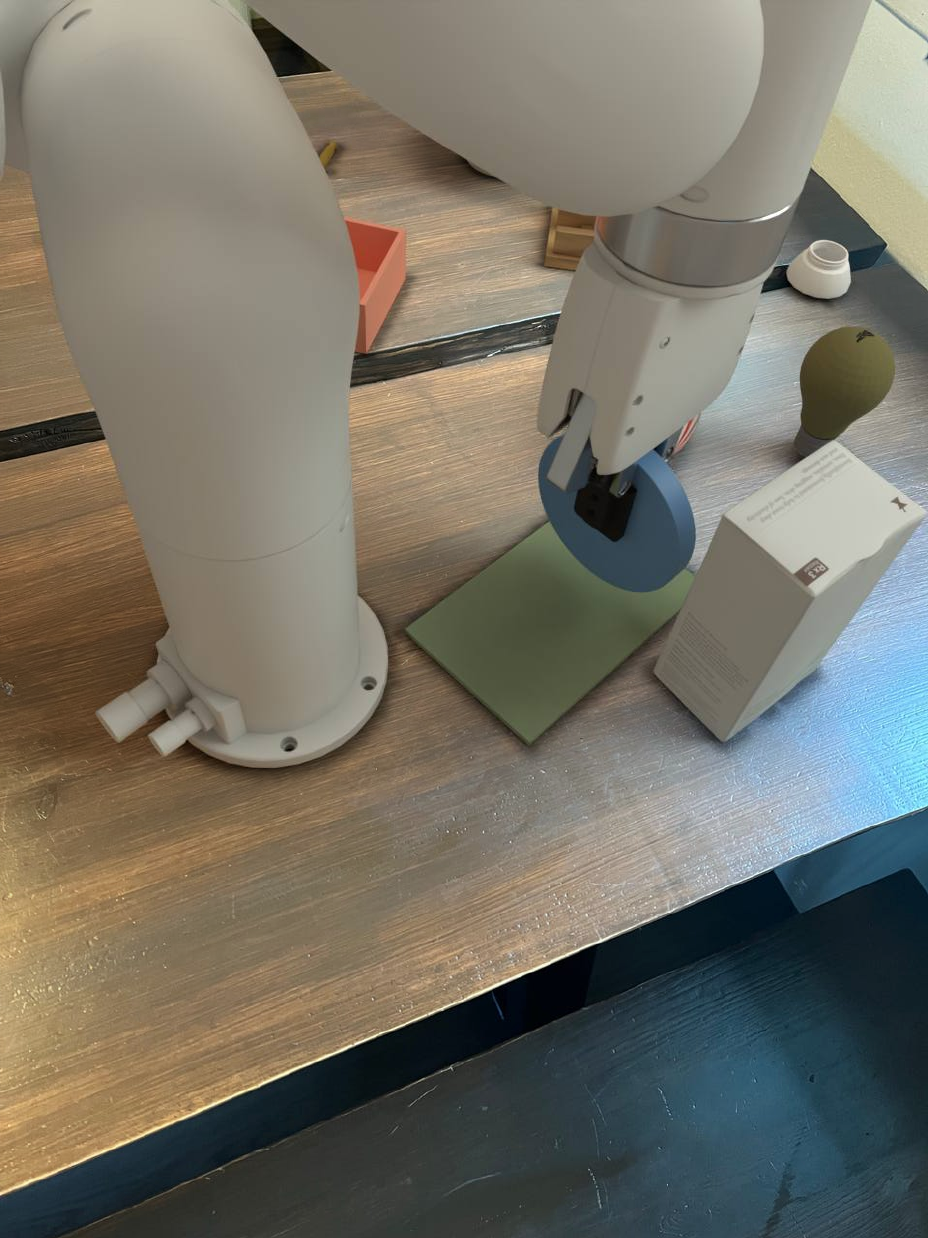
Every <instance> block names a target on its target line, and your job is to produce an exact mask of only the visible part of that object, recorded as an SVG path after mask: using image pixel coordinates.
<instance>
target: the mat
mask: <svg viewBox="0 0 928 1238" xmlns="http://www.w3.org/2000/svg"><path fill="white" fill-rule="evenodd" d="M695 576H696V575H694V574H693V573H692V572H691V571H689V570H687V568H686V567H685V568H684V570H683V571H681V572H680V573H679V574H678V575H677V576H676V577H674V578H673V579H672V580H671V581H670V582H669V583H667V584H666V585H665V586H664V587H662V588H660V589H658V590H655V591H651V592H643V593H640V592H631V591H627V590H623V589H620V588H618V587H615V586H613V585H611V584H609V583H607V582H605V581H604V580H602V579H600V578H599V577H597V576H596V575H594V574H593V573H592V572H590V571H589V570H588V569H587V568H586V567H584V566H583V565H582V564H581V563H580V562H579V561H578V560H577V559H576V558H575V557H574V556H573V555H572V553H571V552H570V551H569V550H568V549H567V548H566V546H565V545H564V544H563V542H562V541H561V540H560V538H559V536H558V535H557V533H556V532H555V530H554V528H553V526H552V525H551V523H550V521H549V520H548V521H547V522H546V523H545V524H543V525H542V526H541V527H539V528H538V529H536V530H535V531H534V532H533V533H530V534H529V535H528V536H527V537H525V538H524V539H523V540H522V541H520V542H519V543H518V544H516V545H515V546H514V547H513V548H511V549H510V550H507V552H506V553H504V554H503V555H501V557H499V558H498V559H496V560H495V561H494V562H492V563H491V564H489V565H487V567H485V568H484V569H482V570H481V571H480V572H478V573H477V574H476V575H475V576H473V577H471V579H470V580H468V581H467V582H466V583H464V584H462V586H460V587H459V588H457V589H456V590H454V591H453V592H452V593H451V594H449V595H448V596H447V597H445V598H444V599H443V600H442V601H439V603H437V604H436V605H435V606H433V607H432V608H431V609H429V610H428V611H427V612H425V613H424V614H422V615H421V616H420V617H418V618H417V619H416V620H414V621H413V622H412V623H410V624H409V625H408V626H406V627H404V634H405V635H406V636H407V637H409V638H410V639H411V640H412V641H413V642H415V644H416V645H417V646H418V647H419V648H421V649H422V650H423V651H424V652H425V653H426V654H427V655H428V656H430V657H431V658H432V659H433V660H434V662H436V663H437V664H438V665H439V666H440V667H442V668H443V669H444V671H446V672H447V673H448V674H449V675H450V676H452V678H454V679H455V680H456V681H457V682H458V683H459V684H460V685H461V686H462V687H464V688H465V689H466V690H467V691H468V692H469V693H470V694H472V696H473V697H474V698H476V699H477V701H479V702H480V703H481V704H482V705H483V706H485V708H487V710H489V711H490V712H491V713H492V714H493V715H494V716H495V717H497V718H498V719H499V720H500V721H501V722H502V723H503V724H504V725H505V726H506V727H508V729H510V731H512V732H513V733H514V734H515V735H516V736H517V737H518V738H519V739H520V740H522V741H523V742H524V743H525V744H526V745H527V746H530V745H531V744H532V743H534V742H535V741H536V740H537V739H538V738H539V737H540V736H541V735H542V734H544V733H545V732H546V731H547V730H548V729H549V728H550V727H552V725H554V724H555V723H556V722H557V721H558V720H559V719H560V718H562V716H564V715H565V714H566V713H567V712H568V711H570V710H571V709H572V708H573V707H574V706H575V705H576V704H577V703H578V702H580V701H581V700H582V699H583V698H584V697H585V696H586V695H588V694H589V693H590V692H591V691H593V689H594V688H595V687H597V686H598V685H599V684H600V683H601V682H602V681H603V680H604V679H605V678H607V677H608V676H609V675H610V674H611V673H613V671H615V670H616V669H617V668H618V667H619V666H620V665H622V663H624V662H625V661H626V660H627V659H628V658H629V657H630V656H631V655H633V654H634V653H635V652H636V651H637V650H639V648H641V647H642V646H643V645H644V644H645V643H646V642H647V641H648V640H650V639H651V638H652V637H653V636H654V635H655V634H657V632H659V631H660V630H662V628H663V627H665V625H667V623H669V622H670V621H671V620H672V619H673V618H674V617H676V615H677V616H678V614H679V612H680V610H681V607H682V605H683V603H684V600H685V598H686V596H687V594H688V591H689V589H690V587H691V585H692V583H693V580H694V578H695Z"/></svg>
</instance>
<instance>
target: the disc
mask: <svg viewBox="0 0 928 1238" xmlns="http://www.w3.org/2000/svg"><path fill="white" fill-rule="evenodd" d="M564 434H565V431H563V433H561V434H560V435H559V436H557V437H556V438H554V439H553V440H552V441H550V442H549V444H548V445H547V446H546V448H545V449H544V450H543V452H542V455H541V457H540V460H539V464H538V469H537V470H538V471H537V484H538V491H539V495H540V499H541V503H542V507H543V509H544V512H545V514H546V516H547V519H548V522H549V521H550V523H551V525H552V526H553V528H554V530H555V532H556V533H557V535H558V536H559V538H560V540H561V541H562V542H563V544H564V545H565V546H566V548H567V549H568V550H569V551H570V552H571V553H572V555H573V556H574V557H575V558H576V559H577V560H578V561H579V562H580V563H581V564H582V565H583V566H584V567H586V568H587V569H588V570H589V571H590V572H592V573H593V574H594V575H596V576H597V577H599V578H600V579H602V580H604V581H605V582H607V583H609V584H611V585H613V586H615V587H618V588H620V589H623V590H627V591H631V592H640V593H643V592H651V591H655V590H658V589H660V588H662V587H664V586H665V585H666V584H667V583H669V582H670V581H671V580H672V579H673V578H674V577H676V576H677V575H678V574H679V573H680V572H681V571H683V570H684V568H685V569H686V567H687V566H688V565H689V564H690V561H691V559H692V558H693V555H694V552H695V548H696V540H697V532H696V531H697V530H696V522H695V516H694V512H693V510H692V506H691V503H690V501H689V497H688V496H687V493H686V492H685V489H684V487H683V485H682V484H681V482H680V481H679V479H678V477H677V476H676V474H675V473H674V471H673V469H672V468H671V467H670V466H669V464H668V463H667V462H665V461H664V460H663V459H662V458H661V457H660V455H659V454H658V453H657V452H655V451H654V450H653V449H652V450H651V451H650V452H648V453H647V454H645V455H644V456H643V457H641V458H640V459H639V460H638V461H637V465H636V469H635V473H634V477H633V481H632V484H631V485H632V486H633V487H634V488H635V489H637V493H636V496H635V500H634V503H633V506H632V510H631V513H630V516H629V520H628V523H627V527H626V530H625V533H624V536H623V537H622V538H621V539H620V540H618V541H617V542H612V541H611V540H610V539H608V538H607V537H606V536H604V535H603V534H602V533H600V532H599V531H598V530H596V529H593V528H592V527H590V526H589V525H588V524H586V523H585V522H584V521H583V520H582V518H581V517H579V516H578V515H577V514H576V513H575V511H574V504H575V499H576V495H577V491H574V492H572V493H569V494H565V493H564V492H562V491H561V490H560V489H558V488H557V487H556V486H554V485H553V484H552V483H550V482H549V481H548V480H547V479H546V477H547V474H548V471H549V469H550V467H551V464H552V462H553V459H554V457H555V455H556V452H557V450H558V448H559V445H560V443H561V441H562V438H563V436H564Z"/></svg>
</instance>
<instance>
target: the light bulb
mask: <svg viewBox="0 0 928 1238" xmlns="http://www.w3.org/2000/svg"><path fill="white" fill-rule="evenodd" d="M895 374H896V361H895V356H894V353H893V351H892V349H891V347H890V345H889V343H888V342H887V341H886V339H884V338H883V337H882V336H881V335H880V334H878V333H877V332H875V331H873V330H871V329H869V328H865V327H863V326H844V327H842V326H841V327H839V328H836V329H833V330H831V331H829V332H826V333H825V334H824V335H822V336H821V337H819V338H818V339H817V340H816V341H815V342H814V343H812V345H811V346H810V347H809V349H808V351H807V352H806V354H805V355H804V358H803V360H802V363H801V366H800V371H799V390H800V395H801V410H800V427H799V429H798V431H797V432H796V435H795V437H794V440H793V447H794V449H795V451H796V452H797V453H798V454H799V455H801V457H803V458H804V459H805V458H806V457H808V456H809V455H811V454H812V453H814V452H815V451H817V450H818V449H820V448H821V447H823V446H824V445H826V444H827V443H829V442H831V441H832V440H834V441H836V439H837V438H839V437H840V435H842V434H843V433H845V431H846V430H847V429H848V428H849V427H850V426H851V425H852V424H853V423H854V422H856V421H858V420H859V419H860V418H862V417H864V416H866V415H867V414H869V413H870V412H872V411H873V410H874V409H876V408H877V407H878V406H879V405H880V404H881V403H882V401H884V399H886V397H887V395H888V393H889V392H890V391H891V388H892V386H893V383H894V379H895V376H896V375H895Z"/></svg>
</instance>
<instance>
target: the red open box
mask: <svg viewBox="0 0 928 1238" xmlns="http://www.w3.org/2000/svg"><path fill="white" fill-rule="evenodd" d="M344 219H345V222H346V225H347V228H348V232H349V236H350V239H351V243H352V247H353V251H354V256H355V261H356V266H357V273H358V281H359V294H360V309H359V324H358V332H357V339H356V346H355V352H354V353H361V354H364V355H367V354H368V352H369V350H370V348H371V346H372V345H373V343H374V340H375V339H376V337H377V336H378V335H377V334H378V333H379V331H380V329H381V327H382V325H383V323H384V322H385V319H386V317H387V315H388V314H389V311H390V310H391V308H392V306H393V304H394V302H395V300H396V299H397V296H398V294H399V292H400V290H401V289H402V287H403V285H404V283H405V281H406V279H407V277H406V276H407V275H406V274H407V229H403V228H399V227H394V226H389V225H385V224H380V223H375V222H372V221H368V220H367V221H366V220H363V219H357V218H353V217H348V216H344Z"/></svg>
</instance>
